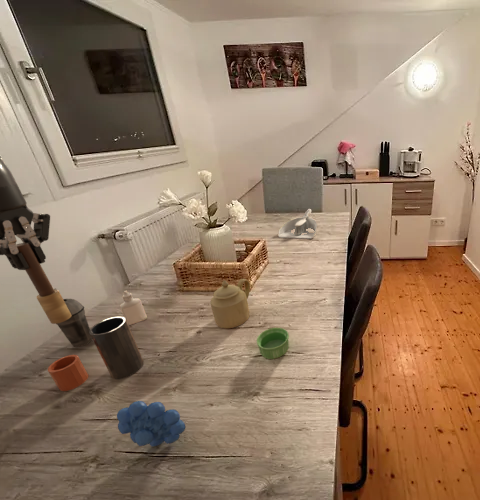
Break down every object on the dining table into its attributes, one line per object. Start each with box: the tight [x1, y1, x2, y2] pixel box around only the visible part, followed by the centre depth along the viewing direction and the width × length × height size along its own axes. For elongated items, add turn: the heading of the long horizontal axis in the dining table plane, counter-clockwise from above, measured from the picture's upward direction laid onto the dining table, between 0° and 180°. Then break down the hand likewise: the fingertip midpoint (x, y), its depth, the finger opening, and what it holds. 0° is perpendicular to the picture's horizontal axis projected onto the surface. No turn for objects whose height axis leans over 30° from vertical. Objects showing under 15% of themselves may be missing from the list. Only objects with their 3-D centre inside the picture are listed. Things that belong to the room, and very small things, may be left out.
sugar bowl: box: [209, 278, 251, 329], centre depth 95 cm, size 15×11×15 cm
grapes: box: [116, 400, 187, 447], centre depth 55 cm, size 12×7×12 cm, turn 97°
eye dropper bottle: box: [119, 290, 148, 326], centre depth 93 cm, size 4×6×12 cm
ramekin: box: [256, 327, 290, 360], centre depth 81 cm, size 9×9×4 cm
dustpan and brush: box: [277, 208, 318, 240], centre depth 178 cm, size 23×33×10 cm
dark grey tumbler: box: [89, 316, 145, 380], centre depth 73 cm, size 7×7×15 cm
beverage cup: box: [53, 288, 93, 348], centre depth 82 cm, size 7×7×20 cm
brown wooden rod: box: [16, 242, 72, 325], centre depth 62 cm, size 4×4×19 cm
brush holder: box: [47, 354, 89, 392], centre depth 71 cm, size 6×6×7 cm
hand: (31, 265), depth 60 cm, fingers closed on brown wooden rod, 2 cm apart
